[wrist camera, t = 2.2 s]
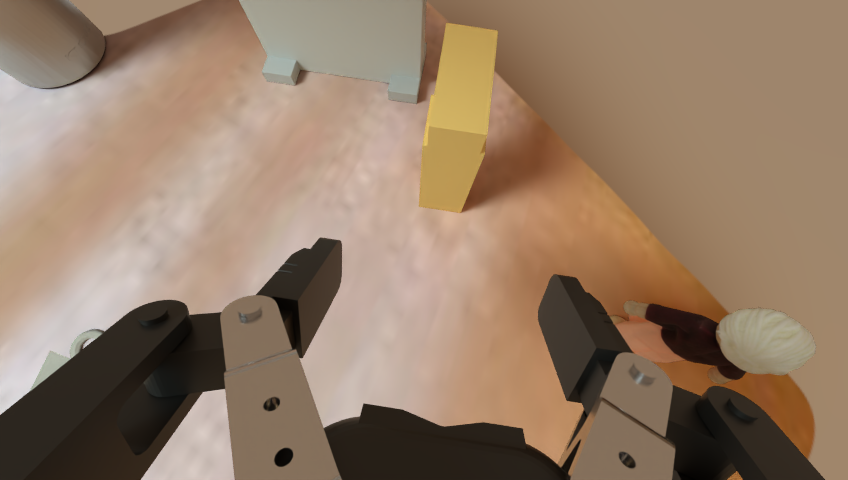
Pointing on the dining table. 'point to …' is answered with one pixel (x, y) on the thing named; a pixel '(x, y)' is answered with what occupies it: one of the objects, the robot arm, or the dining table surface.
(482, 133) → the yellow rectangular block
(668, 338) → the grandmother figurine
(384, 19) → the wall board
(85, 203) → the dining table surface
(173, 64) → the dining table surface
